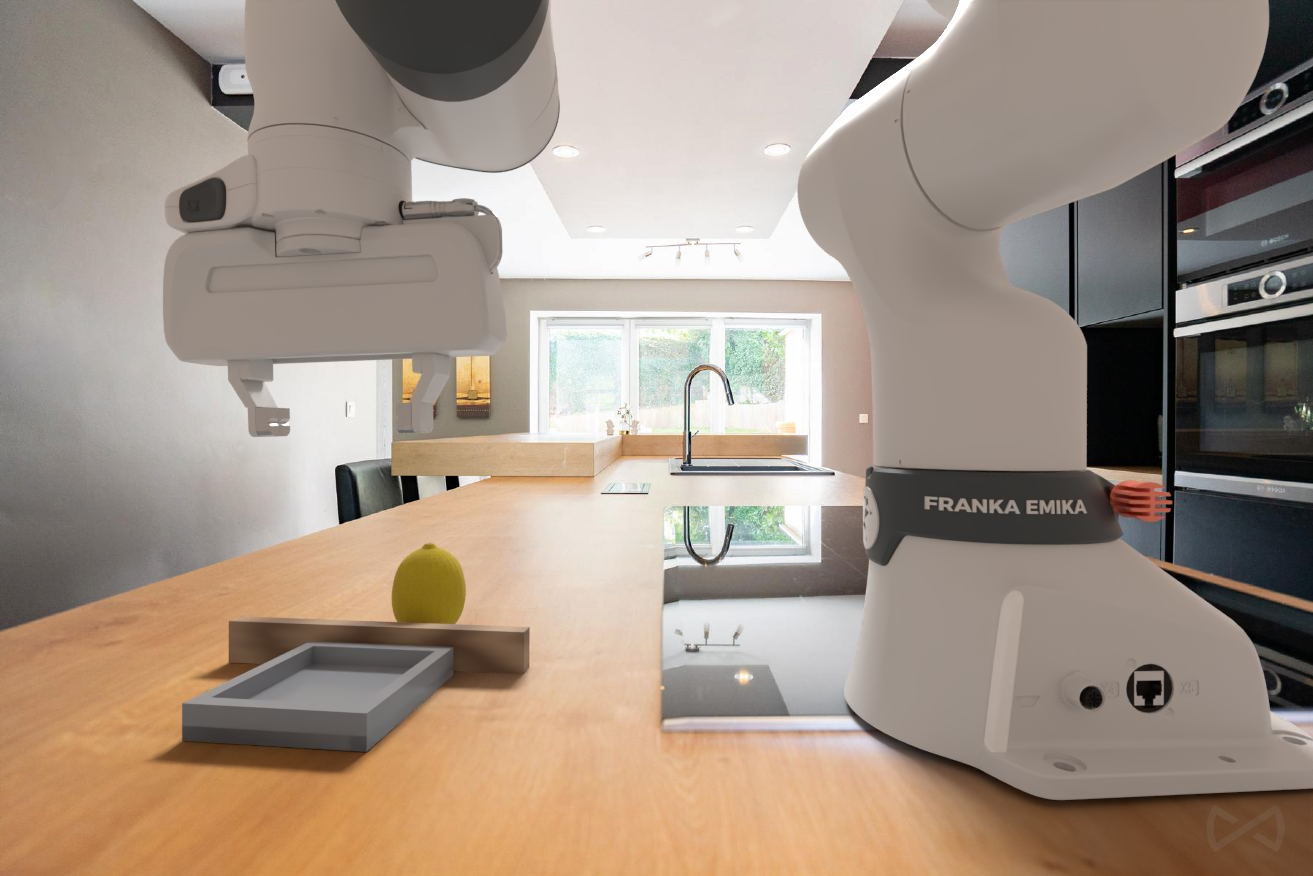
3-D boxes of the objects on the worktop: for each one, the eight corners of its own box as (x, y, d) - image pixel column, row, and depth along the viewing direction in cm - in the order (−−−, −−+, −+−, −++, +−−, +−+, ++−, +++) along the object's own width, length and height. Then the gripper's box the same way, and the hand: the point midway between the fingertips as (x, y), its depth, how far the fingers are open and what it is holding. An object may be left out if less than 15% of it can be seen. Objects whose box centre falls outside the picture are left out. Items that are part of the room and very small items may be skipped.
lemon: (442, 658, 47) (443, 550, 47) (376, 652, 48) (376, 547, 48) (478, 635, 52) (478, 538, 52) (417, 631, 53) (417, 536, 53)
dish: (453, 676, 43) (453, 647, 43) (366, 751, 33) (366, 713, 33) (309, 669, 44) (309, 641, 44) (182, 740, 34) (182, 703, 34)
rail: (529, 669, 45) (529, 627, 45) (524, 676, 43) (524, 632, 43) (241, 656, 47) (241, 616, 47) (228, 662, 46) (228, 621, 46)
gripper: (518, 214, 41) (523, 430, 41) (223, 232, 43) (229, 438, 43) (480, 174, 34) (487, 430, 34) (137, 199, 36) (145, 439, 37)
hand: (341, 435), depth 39 cm, fingers open, 8 cm apart
